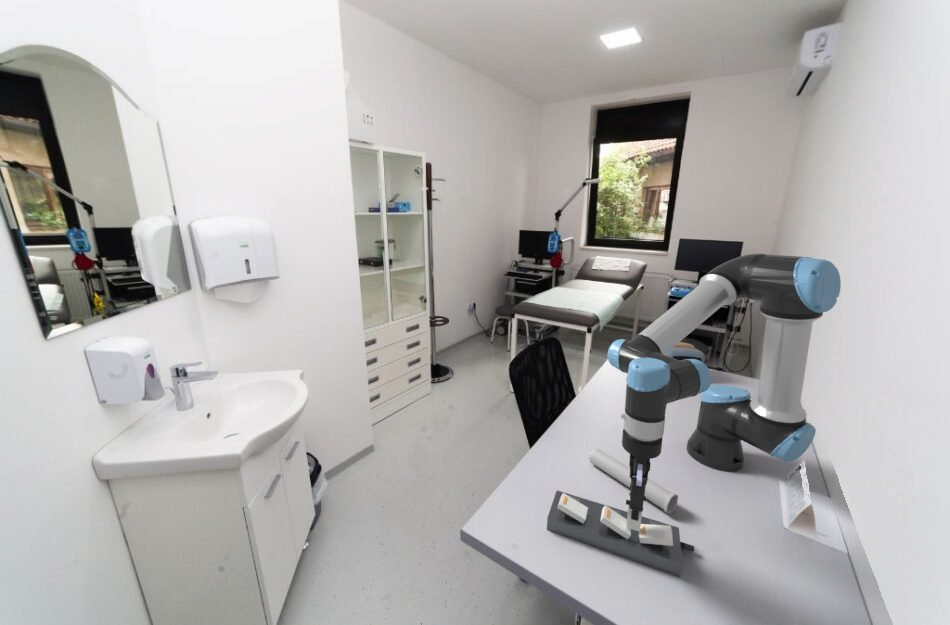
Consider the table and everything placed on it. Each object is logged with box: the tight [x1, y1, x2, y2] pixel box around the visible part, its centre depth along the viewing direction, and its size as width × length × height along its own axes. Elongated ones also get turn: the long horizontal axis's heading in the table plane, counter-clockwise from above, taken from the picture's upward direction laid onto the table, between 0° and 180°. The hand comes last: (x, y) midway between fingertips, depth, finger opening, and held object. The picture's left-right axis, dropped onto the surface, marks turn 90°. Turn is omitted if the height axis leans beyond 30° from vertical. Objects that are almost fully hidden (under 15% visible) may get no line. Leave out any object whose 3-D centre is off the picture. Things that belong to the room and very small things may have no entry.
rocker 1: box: [558, 492, 588, 523], centre depth 86 cm, size 6×4×2 cm, turn 65°
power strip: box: [546, 490, 695, 578], centre depth 84 cm, size 31×10×4 cm, turn 65°
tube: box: [588, 448, 679, 515], centre depth 102 cm, size 5×5×25 cm
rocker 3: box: [639, 524, 673, 546], centre depth 79 cm, size 6×4×2 cm, turn 65°
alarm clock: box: [665, 341, 706, 364], centre depth 173 cm, size 16×16×16 cm
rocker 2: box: [600, 504, 631, 540], centre depth 83 cm, size 6×4×2 cm, turn 65°
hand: (633, 527), depth 81 cm, fingers closed, pressing on rocker 2
